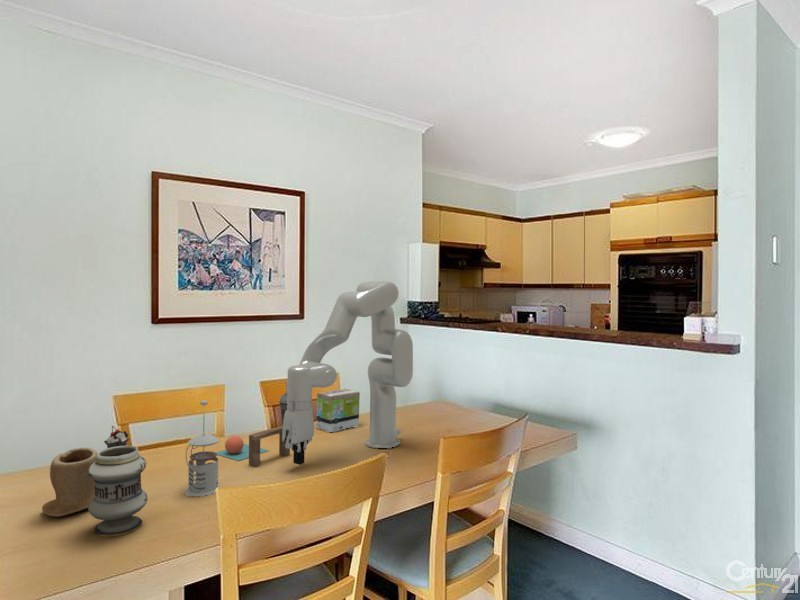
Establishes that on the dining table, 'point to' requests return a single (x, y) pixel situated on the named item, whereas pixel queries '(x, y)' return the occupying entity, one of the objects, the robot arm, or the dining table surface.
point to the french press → (202, 466)
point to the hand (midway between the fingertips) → (298, 463)
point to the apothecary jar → (117, 490)
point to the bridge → (255, 445)
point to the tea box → (337, 410)
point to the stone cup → (71, 482)
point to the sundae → (117, 439)
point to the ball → (234, 444)
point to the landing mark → (241, 455)
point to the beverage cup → (283, 404)
